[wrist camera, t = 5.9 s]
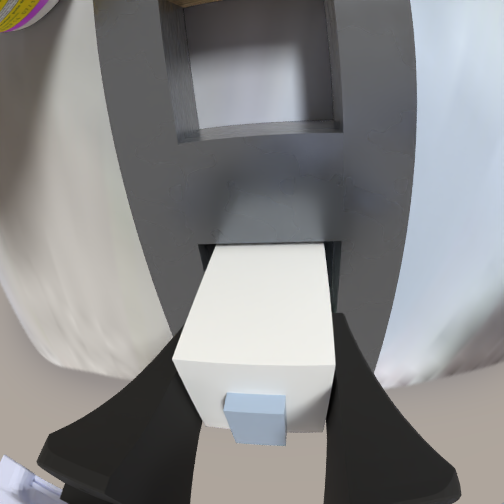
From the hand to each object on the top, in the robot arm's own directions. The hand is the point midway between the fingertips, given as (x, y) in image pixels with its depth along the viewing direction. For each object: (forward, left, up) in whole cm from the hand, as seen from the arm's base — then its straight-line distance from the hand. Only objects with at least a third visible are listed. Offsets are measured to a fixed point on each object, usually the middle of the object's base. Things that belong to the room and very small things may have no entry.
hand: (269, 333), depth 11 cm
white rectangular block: (0, 0, -4) cm, 4 cm away
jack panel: (0, -4, -4) cm, 6 cm away
